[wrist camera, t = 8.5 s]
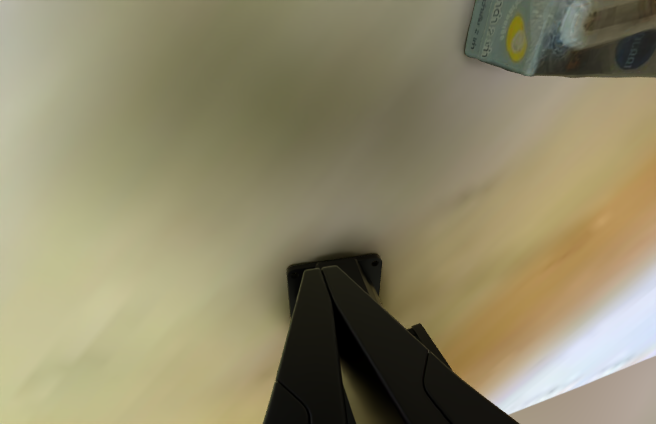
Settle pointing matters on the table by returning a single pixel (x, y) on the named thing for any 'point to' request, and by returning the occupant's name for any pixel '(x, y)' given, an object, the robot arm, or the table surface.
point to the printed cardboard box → (566, 37)
